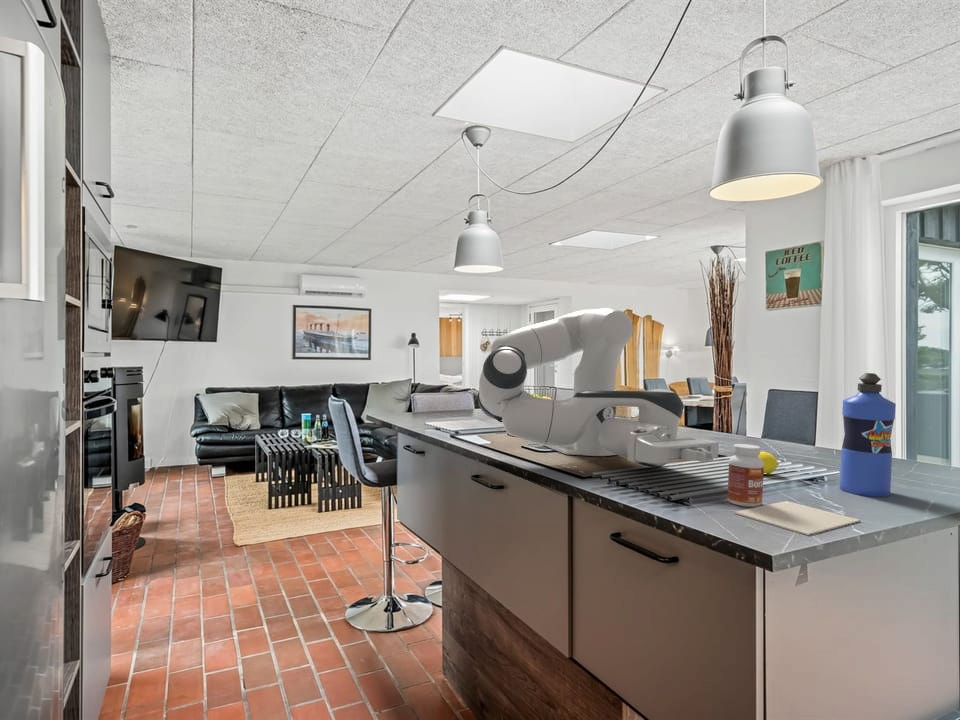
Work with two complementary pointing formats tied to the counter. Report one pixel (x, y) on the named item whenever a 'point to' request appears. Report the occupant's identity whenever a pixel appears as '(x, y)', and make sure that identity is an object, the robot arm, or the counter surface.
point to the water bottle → (867, 440)
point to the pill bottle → (745, 476)
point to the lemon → (768, 462)
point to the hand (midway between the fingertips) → (709, 457)
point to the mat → (797, 517)
